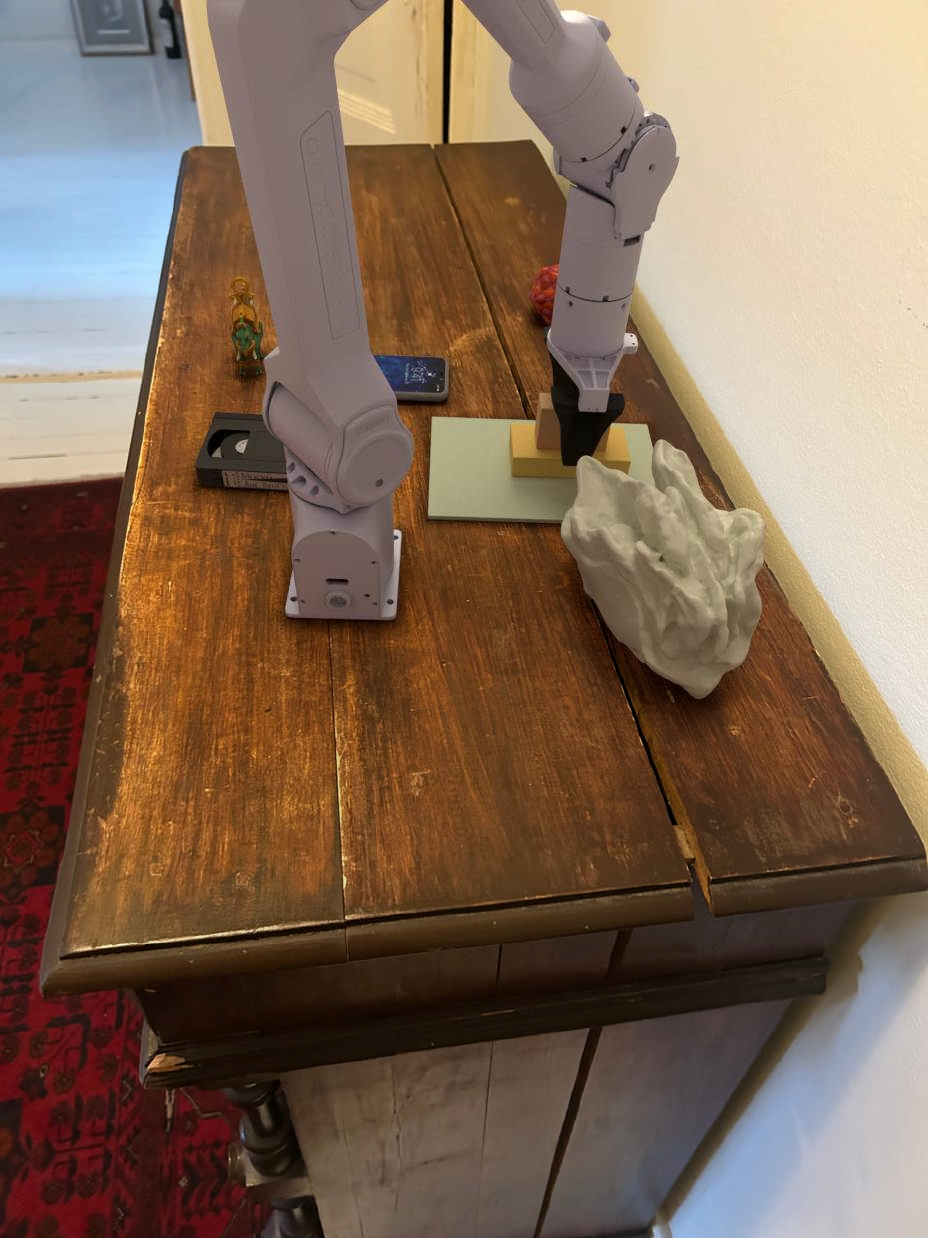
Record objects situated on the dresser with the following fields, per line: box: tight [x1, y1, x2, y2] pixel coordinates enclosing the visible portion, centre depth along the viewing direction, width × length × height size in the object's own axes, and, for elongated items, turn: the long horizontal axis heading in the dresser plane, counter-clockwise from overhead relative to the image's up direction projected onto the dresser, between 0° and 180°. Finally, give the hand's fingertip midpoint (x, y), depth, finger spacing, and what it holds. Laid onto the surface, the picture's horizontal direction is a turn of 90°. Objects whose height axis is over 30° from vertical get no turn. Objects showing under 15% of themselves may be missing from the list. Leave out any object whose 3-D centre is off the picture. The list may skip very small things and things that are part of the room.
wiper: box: [509, 392, 631, 478], centre depth 74 cm, size 5×10×6 cm, turn 90°
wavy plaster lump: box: [560, 438, 767, 700], centre depth 60 cm, size 18×13×16 cm
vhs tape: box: [194, 411, 289, 492], centre depth 74 cm, size 14×8×2 cm, turn 88°
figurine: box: [228, 276, 264, 376], centre depth 83 cm, size 3×12×8 cm, turn 9°
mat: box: [427, 416, 655, 524], centre depth 76 cm, size 14×20×1 cm
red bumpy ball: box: [528, 263, 559, 326], centre depth 92 cm, size 6×7×8 cm
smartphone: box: [372, 353, 450, 402], centre depth 84 cm, size 7×1×15 cm
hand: (570, 436), depth 74 cm, fingers open, 7 cm apart
